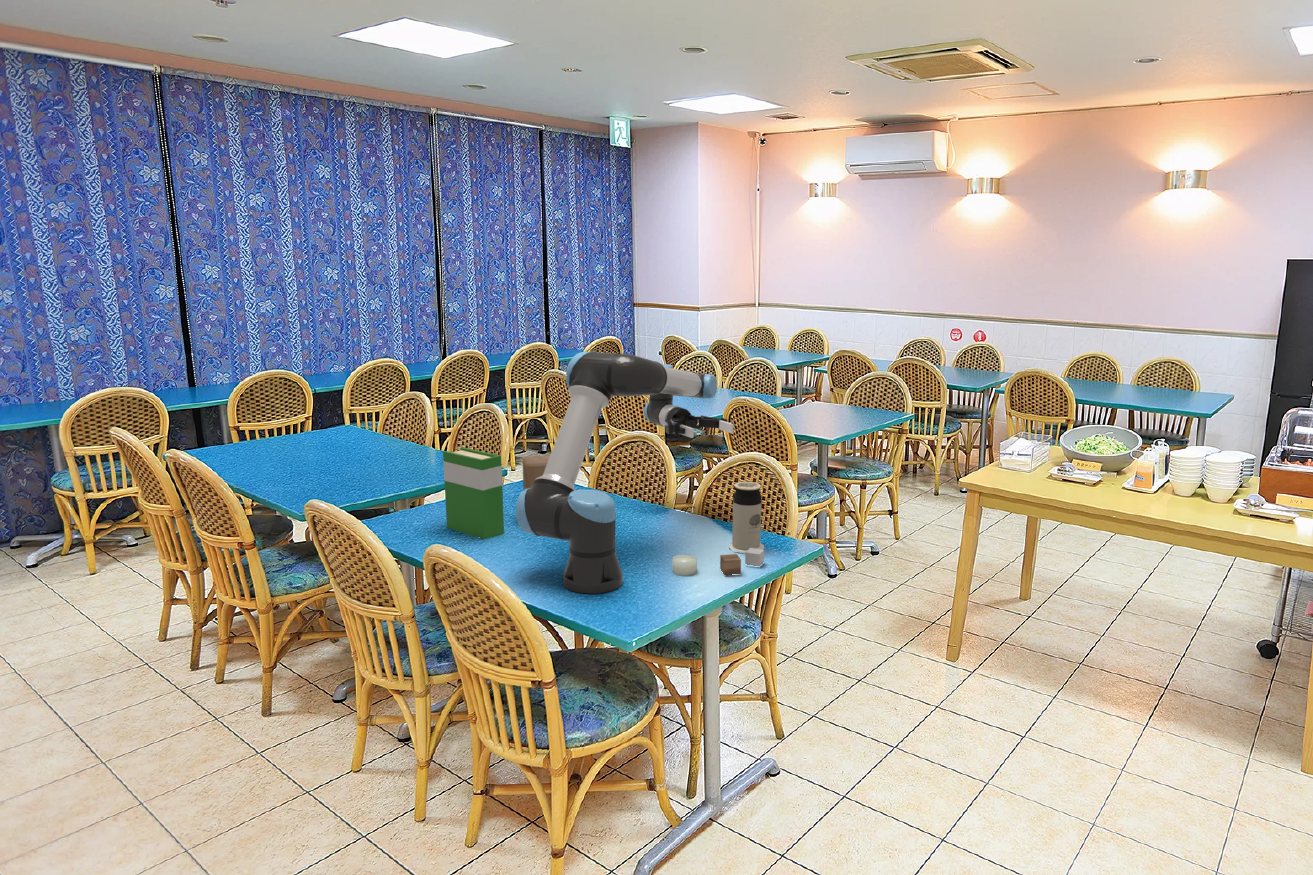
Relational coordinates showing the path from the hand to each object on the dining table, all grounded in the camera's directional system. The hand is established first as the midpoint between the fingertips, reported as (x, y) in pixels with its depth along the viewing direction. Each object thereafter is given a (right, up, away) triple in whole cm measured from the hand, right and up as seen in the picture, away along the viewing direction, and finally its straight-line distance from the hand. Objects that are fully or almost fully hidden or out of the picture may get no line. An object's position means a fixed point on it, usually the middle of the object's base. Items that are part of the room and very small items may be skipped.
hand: (712, 431), depth 249 cm
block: (-52, -28, +22) cm, 63 cm away
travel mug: (+9, -33, -3) cm, 34 cm away
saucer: (+9, -33, -3) cm, 35 cm away
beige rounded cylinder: (-9, -37, -21) cm, 44 cm away
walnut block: (+3, -38, -22) cm, 44 cm away
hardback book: (-71, -30, +12) cm, 78 cm away
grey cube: (+10, -36, -16) cm, 41 cm away
